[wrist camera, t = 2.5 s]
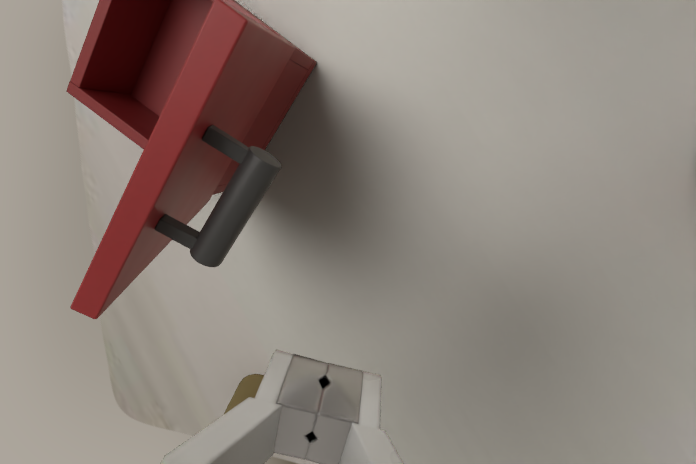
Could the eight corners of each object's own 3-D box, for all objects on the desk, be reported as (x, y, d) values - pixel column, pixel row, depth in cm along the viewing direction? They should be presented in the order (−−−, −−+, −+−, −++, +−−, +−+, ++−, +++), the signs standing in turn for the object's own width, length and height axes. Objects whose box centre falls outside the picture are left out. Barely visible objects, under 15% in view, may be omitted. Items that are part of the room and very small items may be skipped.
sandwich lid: (68, 309, 16) (166, 351, 17) (214, -5, 12) (334, 84, 13) (195, 194, 31) (243, 221, 32) (281, 37, 26) (334, 76, 28)
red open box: (127, 98, 38) (66, 91, 32) (185, -37, 34) (127, -79, 27) (243, 186, 38) (206, 196, 32) (317, 62, 34) (291, 44, 27)
